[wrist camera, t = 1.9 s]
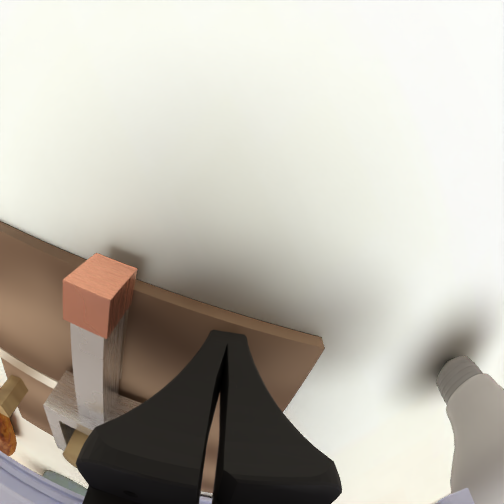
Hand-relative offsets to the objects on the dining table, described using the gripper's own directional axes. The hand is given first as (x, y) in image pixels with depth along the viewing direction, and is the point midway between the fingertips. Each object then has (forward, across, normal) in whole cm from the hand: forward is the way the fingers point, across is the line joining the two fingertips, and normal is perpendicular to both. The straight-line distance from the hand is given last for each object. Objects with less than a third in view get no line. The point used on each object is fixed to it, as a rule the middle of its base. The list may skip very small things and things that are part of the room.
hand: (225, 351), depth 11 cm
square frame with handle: (0, +6, +3) cm, 6 cm away
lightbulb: (+2, -13, +1) cm, 13 cm away
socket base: (+1, +6, +7) cm, 10 cm away
